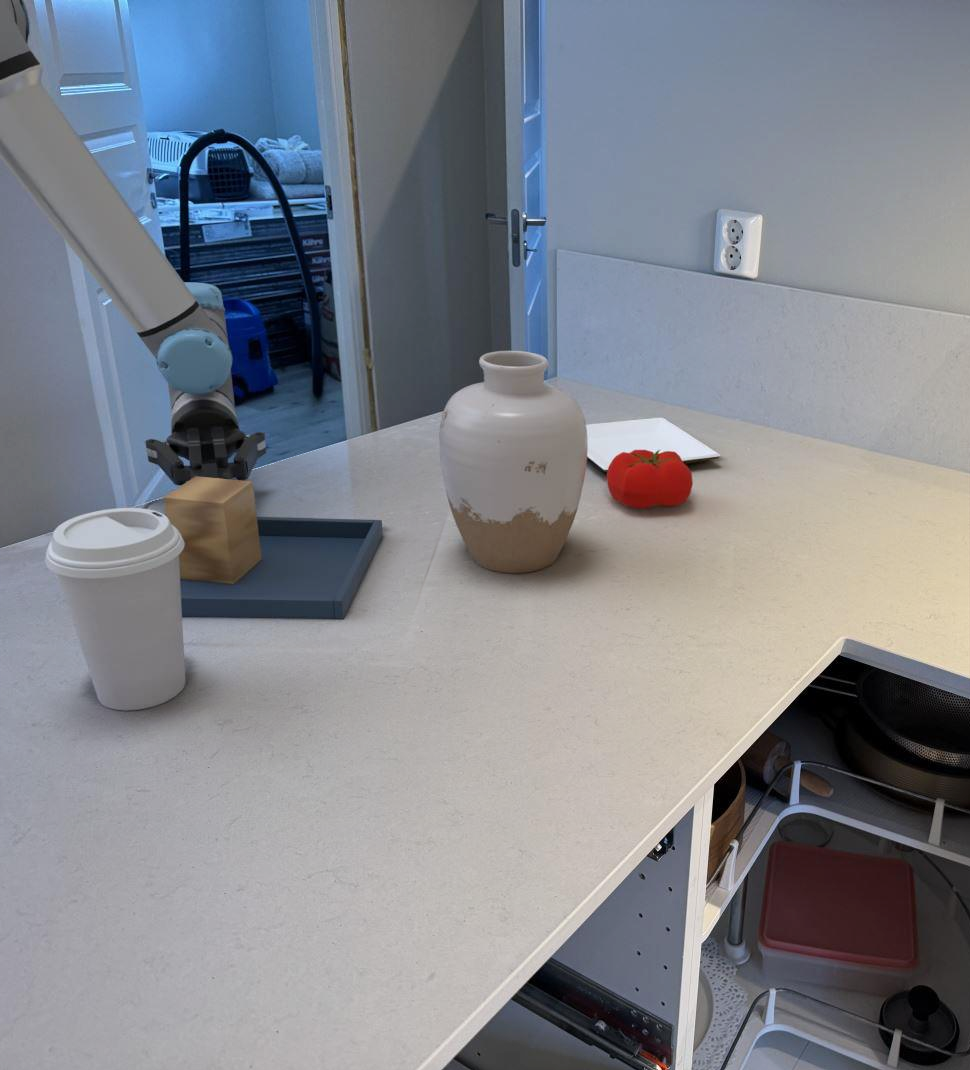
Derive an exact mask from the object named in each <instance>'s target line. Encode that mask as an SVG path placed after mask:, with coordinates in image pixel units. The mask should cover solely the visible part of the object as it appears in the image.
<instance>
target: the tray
mask: <svg viewBox="0 0 970 1070" xmlns="http://www.w3.org/2000/svg"><path fill="white" fill-rule="evenodd" d="M163 514H164V515H165V516H166V513H163ZM257 524H258V532H259V540H260V549H261V557H262V560H261V561H259V562H258V563H257V564H256V565H255V566H254V567H253V568H252V569H250V570H249V571H248V572H247V573H246V574H245V575H244V576H243V577H242V578H240V579H239V580H238V581H237V582H236V583H235V584H226V583H216V582H206V581H195V580H185V579H180V589H181V608H182V618H215V619H216V618H218V619H219V618H220V619H222V618H223V619H225V618H226V619H285V620H286V619H287V620H288V619H289V620H290V619H291V620H293V619H294V620H298V619H299V620H344V619H345V618H346V615H347V613H348V611H349V610H350V609H349V608H350V607H351V604H352V602H353V600H354V598H355V596H356V594H357V592H358V590H359V587H360V585H361V584H362V582H363V579H364V577H365V575H366V573H367V572H368V568H369V567H370V564H371V562H372V560H373V558H374V556H375V554H376V552H377V549H378V548H379V546H380V543H381V541H382V539H383V536H384V535H383V534H384V533H383V520H382V519H360V518H359V519H358V518H357V519H356V518H355V519H354V518H321V517H320V518H318V517H287V516H286V517H284V516H282V517H280V516H257Z"/></svg>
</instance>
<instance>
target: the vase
mask: <svg viewBox="0 0 970 1070" xmlns="http://www.w3.org/2000/svg"><path fill="white" fill-rule="evenodd" d="M478 365H479V367H480V368H481V369H482V371H483V381H482V382H477V383H472V384H470V385H467V386H465V387H463V388H461V389H459V390H458V391H456V392H455V393H453V394H452V395H451V397H450V398H449V400H448V401H447V402H446V404H445V407H444V409H443V411H442V415H441V419H440V425H439V431H438V432H439V433H438V451H439V452H438V453H439V462H440V467H441V474H442V480H443V483H444V488H445V493H446V497H447V501H448V503H449V507H450V512H451V514H452V517H453V519H454V523H455V525H456V527H457V529H458V532H459V534H460V536H461V538H462V541H463V543H464V545H465V548H466V549H467V552H468V554H469V555H470V557H471V559H472V560H473V561H474V562H475V564H477V565H478V566H480V567H481V568H483V569H486V570H489V571H493V572H498V573H504V574H523V573H531V572H536V571H539V570H542V569H545V568H547V567H549V566H551V565H553V563H555V561H556V560H557V558H558V557H559V555H560V554H561V551H562V549H563V548H564V545H565V544H566V541H567V539H568V536H569V533H570V531H571V529H572V526H573V524H574V521H575V519H576V515H577V512H578V509H579V505H580V501H581V497H582V492H583V487H584V483H585V482H584V481H585V475H586V470H587V464H588V463H587V461H588V458H587V451H588V436H587V428H586V425H587V423H586V419H585V415H584V413H583V411H582V408H581V406H580V404H579V402H578V401H577V399H576V398H575V397H574V396H573V395H571V394H570V393H568V392H567V391H565V390H564V389H563V388H560V387H558V386H555V385H552V384H548V383H545V371H546V370H547V369H548V366H549V360H548V359H547V357H545V356H544V355H541V354H539V353H534V352H529V351H524V350H523V351H522V350H499V351H498V350H497V351H491V352H487V353H485V354H483V355H481V356H480V357H479V359H478Z"/></svg>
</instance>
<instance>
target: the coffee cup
mask: <svg viewBox="0 0 970 1070" xmlns="http://www.w3.org/2000/svg"><path fill="white" fill-rule="evenodd" d="M164 514H165V513H162V512H159V511H157V510H153V509H148V508H141V507H140V508H139V507H118V508H117V507H116V508H108V509H101V510H97V511H92V512H87V513H83V514H81V515H77V516H74V517H72V518H69V519H68V520H65V521H64V522H62V523H61V524H59V525H58V526H57V527H55V529H54V530H53V533H52V537H51V538H52V540H51V541H49V544H47V545H48V546H47V549H46V552H45V558H44V559H45V562H44V563H45V565H46V567H47V569H48V570H50V571H51V572H53V573H54V574H56V577H57V580H58V582H59V585H60V589H61V591H62V595H63V597H64V600H65V604H66V606H67V609H68V612H69V615H70V619H71V622H72V625H73V627H74V631H75V633H76V636H77V639H78V642H79V645H80V648H81V651H82V654H83V657H84V660H85V663H86V666H87V669H88V673H89V675H90V679H91V681H92V684H93V687H94V690H95V694H96V696H97V700H98V701H99V703H100V704H101V705H102V706H103V707H106V708H108V709H111V710H115V711H138V710H145V709H149V708H153V707H156V706H159V705H162V704H164V703H166V702H168V701H170V700H172V699H173V698H175V697H177V696H178V695H179V694H180V693H181V692H182V691H183V689H184V688H185V686H186V664H185V646H184V630H183V629H184V628H183V617H182V608H181V589H180V569H179V554H180V553H181V552H182V550H183V548H184V545H185V543H184V540H183V538H182V536H181V534H180V533H179V531H178V530H177V528H176V527H174V526H173V525H172V524H171V523H170V521H169V519H168V518H167V516H165V515H164Z"/></svg>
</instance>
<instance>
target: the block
mask: <svg viewBox="0 0 970 1070" xmlns="http://www.w3.org/2000/svg"><path fill="white" fill-rule="evenodd" d="M255 499H256V498H255V490H254V483H253V481H251V480H243V481H242V480H236V479H220V478H209V477H199V476H195V477H194V478H192V479H191V480H189V481H186V483H185V484H183V485H181V486H178V487H177V488H175V489H174V490H172V491H170V492H169V493H168V494H166V495H164V496H163V504H164V510H165V514H166V516H167V518H168V519H169V521H170V523H171V524H172V525H173V526H174V527H176V528H177V530H178V531H179V533H180V534H181V536H182V538H183V540H184V543H185V545H184V548H183V550H182V552H181V553H180V554H179V569H180V579H185V580H195V581H206V582H216V583H226V584H235V583H236V582H237V581H238V580H239V579H240V578H242V577H243V576H244V575H245V574H246V573H247V572H248V571H249V570H250V569H252V568H253V567H254V566H255V565H256V564H257V563H258V562H259V561H261V560H262V557H261V549H260V540H259V532H258V524H257V517H258V516H257V509H256V500H255Z"/></svg>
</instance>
